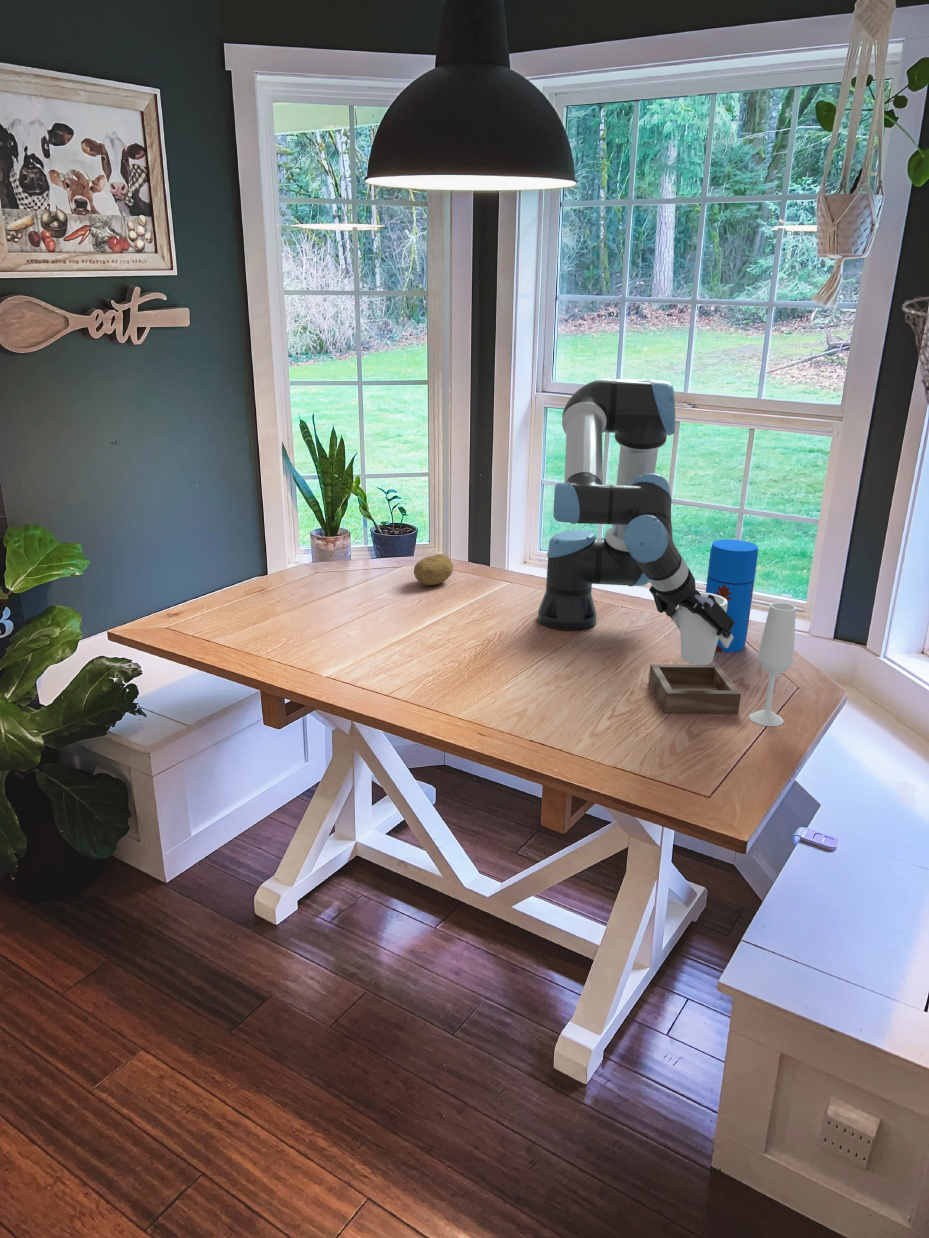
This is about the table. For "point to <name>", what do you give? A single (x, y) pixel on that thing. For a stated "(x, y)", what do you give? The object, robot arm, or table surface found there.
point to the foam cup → (698, 634)
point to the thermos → (733, 584)
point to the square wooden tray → (694, 689)
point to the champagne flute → (775, 654)
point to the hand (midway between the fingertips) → (707, 635)
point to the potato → (433, 569)
